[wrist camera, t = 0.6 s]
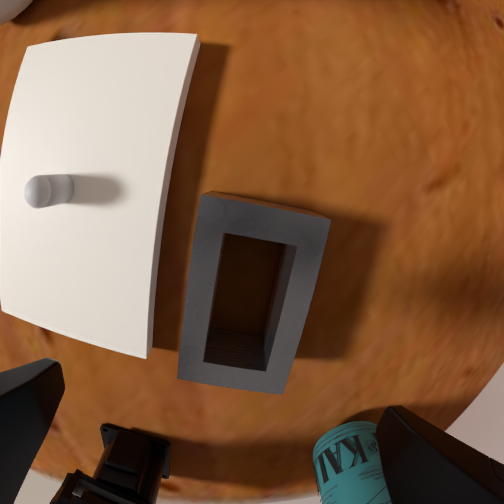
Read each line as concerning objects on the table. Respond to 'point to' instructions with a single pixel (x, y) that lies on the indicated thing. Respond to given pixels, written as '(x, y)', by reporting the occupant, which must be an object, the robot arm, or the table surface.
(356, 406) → the table surface
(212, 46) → the table surface
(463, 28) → the table surface
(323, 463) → the beverage bottle
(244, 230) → the steel link
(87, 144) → the keeper board
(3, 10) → the glass bottle
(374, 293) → the table surface
